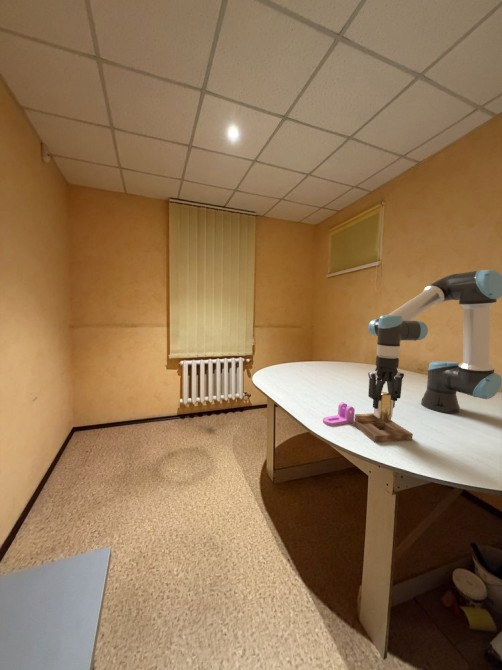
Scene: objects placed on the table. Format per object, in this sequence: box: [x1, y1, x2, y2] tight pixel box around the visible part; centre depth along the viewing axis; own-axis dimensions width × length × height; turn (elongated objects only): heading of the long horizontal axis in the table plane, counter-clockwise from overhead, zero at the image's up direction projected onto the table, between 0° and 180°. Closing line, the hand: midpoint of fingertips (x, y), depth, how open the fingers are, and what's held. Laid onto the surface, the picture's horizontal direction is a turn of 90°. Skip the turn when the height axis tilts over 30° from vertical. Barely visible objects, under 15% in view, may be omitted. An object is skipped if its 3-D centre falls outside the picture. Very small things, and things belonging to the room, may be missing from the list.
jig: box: [353, 412, 414, 443], centre depth 95 cm, size 15×13×5 cm
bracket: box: [322, 402, 356, 427], centre depth 104 cm, size 13×6×7 cm, turn 111°
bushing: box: [376, 391, 391, 422], centre depth 94 cm, size 4×4×10 cm
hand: (382, 416), depth 95 cm, fingers closed on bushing, 4 cm apart
